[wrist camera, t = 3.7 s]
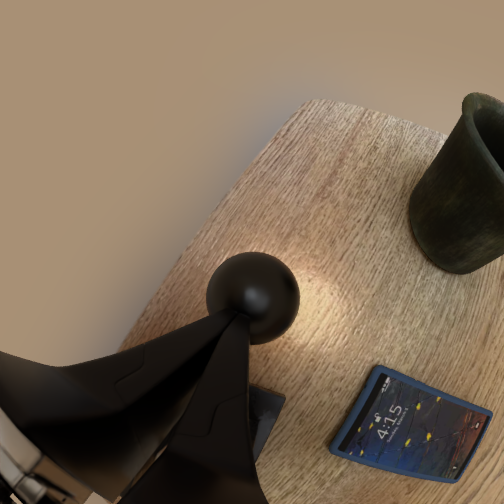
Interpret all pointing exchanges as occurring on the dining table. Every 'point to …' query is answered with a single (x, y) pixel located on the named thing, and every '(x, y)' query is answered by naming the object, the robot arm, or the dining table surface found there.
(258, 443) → the bracket
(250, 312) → the lever
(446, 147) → the mug
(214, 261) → the dining table surface
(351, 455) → the smartphone
